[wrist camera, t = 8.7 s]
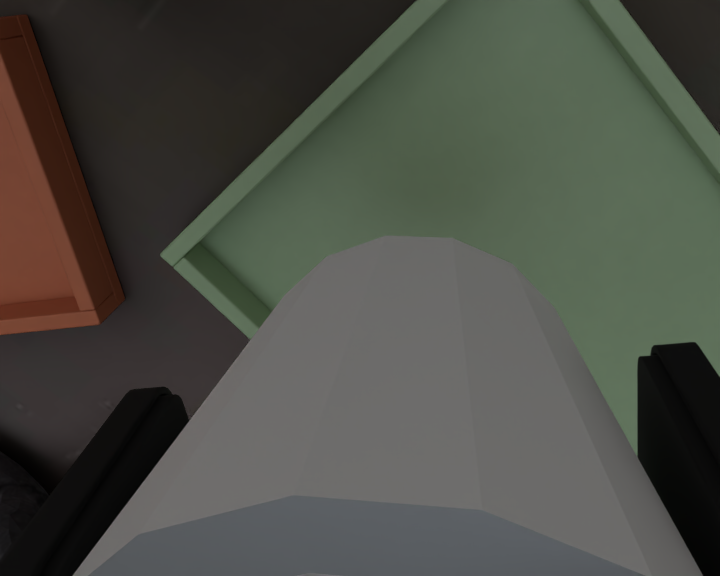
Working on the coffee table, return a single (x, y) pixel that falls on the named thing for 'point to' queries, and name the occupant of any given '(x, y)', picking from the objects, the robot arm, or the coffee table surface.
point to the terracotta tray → (44, 204)
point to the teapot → (16, 501)
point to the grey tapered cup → (401, 440)
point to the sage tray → (495, 177)
